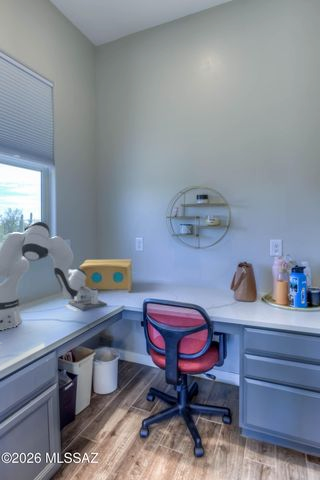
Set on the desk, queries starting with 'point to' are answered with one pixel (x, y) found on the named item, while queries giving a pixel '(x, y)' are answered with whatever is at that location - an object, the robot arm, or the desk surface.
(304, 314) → the desk surface
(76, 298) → the toggle rear
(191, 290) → the desk surface
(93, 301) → the toggle front
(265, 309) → the desk surface
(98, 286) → the cardboard box
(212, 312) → the desk surface
